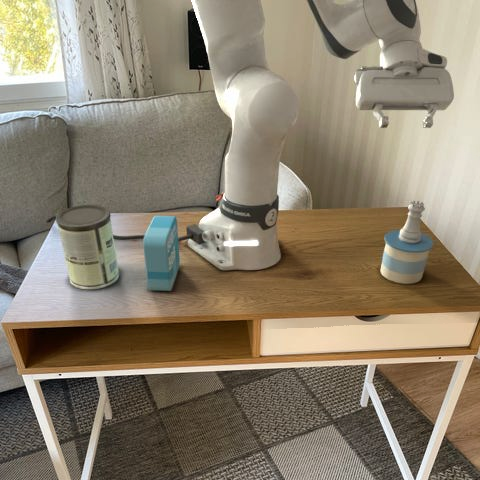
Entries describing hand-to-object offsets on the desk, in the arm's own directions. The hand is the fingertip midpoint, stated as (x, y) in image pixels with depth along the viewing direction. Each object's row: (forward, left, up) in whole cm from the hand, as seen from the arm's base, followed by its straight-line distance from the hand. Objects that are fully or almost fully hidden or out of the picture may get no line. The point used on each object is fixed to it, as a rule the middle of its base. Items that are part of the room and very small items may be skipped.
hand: (406, 126), depth 105 cm
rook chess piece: (+11, -11, -19) cm, 24 cm away
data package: (-24, -48, -27) cm, 60 cm away
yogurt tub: (+11, -11, -27) cm, 31 cm away
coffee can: (-35, -58, -27) cm, 73 cm away
